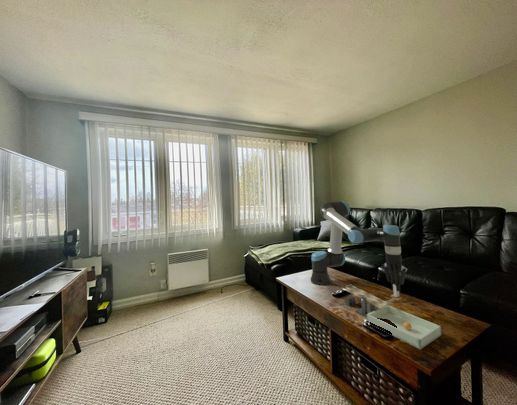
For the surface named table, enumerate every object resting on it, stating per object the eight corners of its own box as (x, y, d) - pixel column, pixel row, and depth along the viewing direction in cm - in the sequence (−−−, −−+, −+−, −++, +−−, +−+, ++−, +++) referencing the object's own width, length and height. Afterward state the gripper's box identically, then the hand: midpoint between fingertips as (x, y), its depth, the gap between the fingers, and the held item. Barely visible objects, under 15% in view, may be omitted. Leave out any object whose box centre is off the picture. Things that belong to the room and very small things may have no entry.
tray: (366, 322, 107) (366, 314, 107) (387, 312, 115) (387, 304, 115) (420, 349, 85) (419, 339, 85) (441, 335, 93) (440, 326, 93)
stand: (343, 305, 125) (342, 290, 125) (354, 301, 129) (353, 286, 129) (370, 319, 109) (369, 301, 109) (382, 313, 113) (381, 296, 114)
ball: (401, 327, 99) (403, 321, 98) (404, 324, 100) (406, 319, 99) (408, 332, 96) (410, 327, 95) (412, 330, 97) (414, 324, 96)
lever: (345, 291, 126) (345, 285, 126) (364, 284, 134) (364, 279, 134) (382, 310, 106) (382, 304, 106) (402, 301, 114) (402, 295, 114)
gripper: (377, 252, 119) (381, 293, 119) (401, 256, 108) (405, 302, 107) (385, 250, 123) (388, 290, 122) (409, 254, 111) (413, 298, 110)
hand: (396, 296), depth 114 cm, fingers closed
